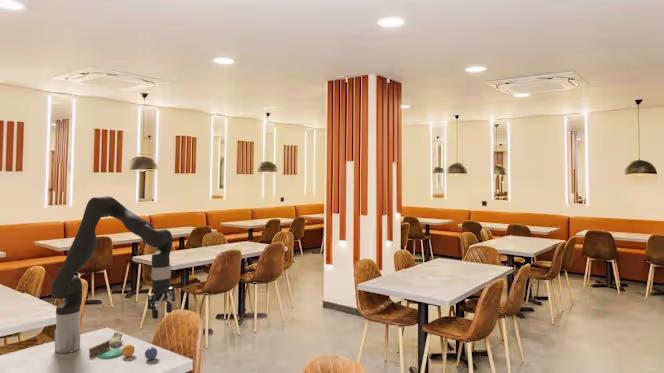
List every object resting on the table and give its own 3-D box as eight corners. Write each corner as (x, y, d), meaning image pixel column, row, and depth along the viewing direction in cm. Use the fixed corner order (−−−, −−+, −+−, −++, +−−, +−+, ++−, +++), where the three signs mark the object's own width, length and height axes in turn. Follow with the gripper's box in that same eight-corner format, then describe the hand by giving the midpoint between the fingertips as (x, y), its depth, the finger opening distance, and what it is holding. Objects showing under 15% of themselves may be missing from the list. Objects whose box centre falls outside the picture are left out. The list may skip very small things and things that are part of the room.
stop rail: (89, 356, 186) (89, 348, 186) (107, 348, 196) (107, 340, 196) (91, 356, 186) (91, 348, 186) (109, 348, 195) (109, 340, 195)
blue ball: (142, 360, 181) (142, 349, 181) (150, 356, 186) (150, 344, 186) (151, 362, 180) (151, 350, 180) (160, 357, 184) (159, 346, 184)
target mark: (91, 357, 185) (91, 357, 185) (111, 348, 196) (111, 347, 196) (111, 360, 182) (111, 359, 182) (131, 350, 192) (131, 350, 192)
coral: (111, 348, 196) (111, 338, 196) (106, 342, 204) (106, 332, 204) (124, 345, 199) (124, 336, 199) (119, 339, 208) (119, 330, 208)
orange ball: (119, 357, 185) (119, 346, 185) (127, 353, 189) (127, 342, 189) (128, 359, 183) (128, 347, 183) (137, 354, 188) (137, 343, 188)
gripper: (165, 273, 189) (166, 310, 189) (141, 280, 175) (142, 320, 175) (179, 274, 186) (180, 311, 186) (157, 281, 173) (158, 321, 173)
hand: (162, 315), depth 181 cm, fingers open, 8 cm apart
